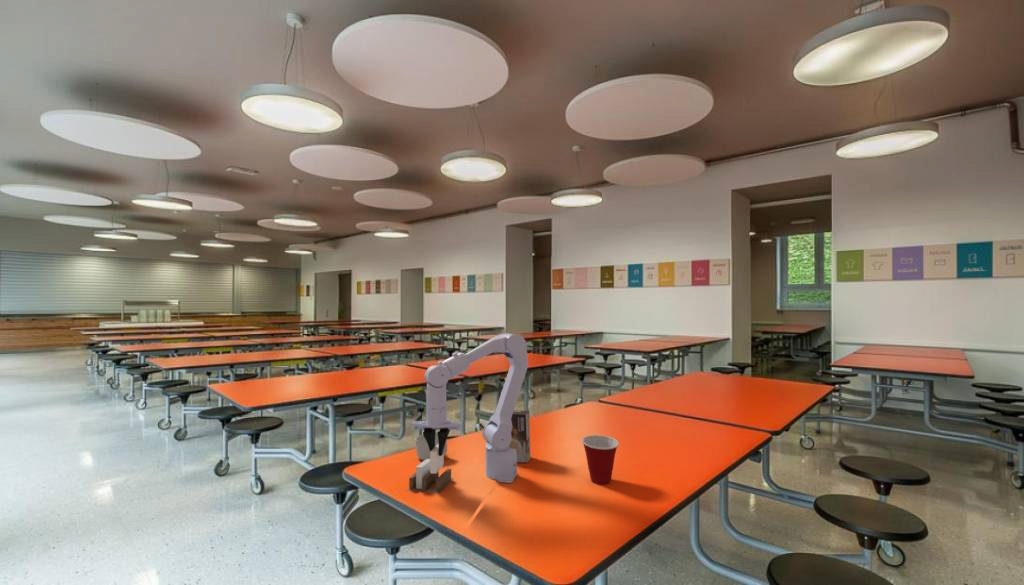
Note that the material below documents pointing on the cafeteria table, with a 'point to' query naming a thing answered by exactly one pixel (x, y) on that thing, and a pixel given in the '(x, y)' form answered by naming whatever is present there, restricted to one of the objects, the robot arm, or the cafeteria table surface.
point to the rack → (431, 482)
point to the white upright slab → (436, 460)
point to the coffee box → (521, 435)
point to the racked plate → (422, 472)
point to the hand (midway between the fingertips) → (436, 454)
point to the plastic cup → (600, 457)
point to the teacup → (426, 447)
